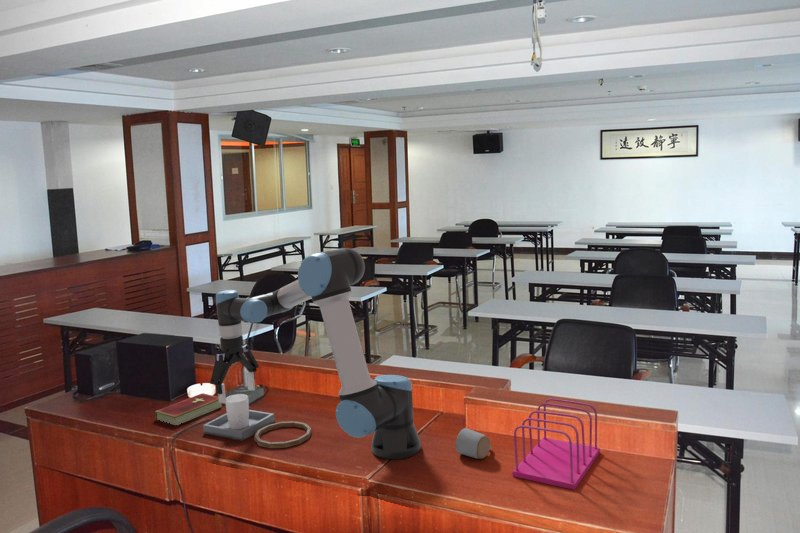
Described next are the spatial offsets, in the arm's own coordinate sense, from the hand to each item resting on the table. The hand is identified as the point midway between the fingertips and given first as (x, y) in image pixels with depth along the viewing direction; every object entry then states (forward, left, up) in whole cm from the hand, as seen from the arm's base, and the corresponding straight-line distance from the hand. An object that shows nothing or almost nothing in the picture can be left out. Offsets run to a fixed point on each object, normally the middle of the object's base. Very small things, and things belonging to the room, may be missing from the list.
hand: (237, 396), depth 226 cm
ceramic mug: (-27, -79, -12) cm, 84 cm away
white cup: (0, 0, -11) cm, 11 cm away
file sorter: (-36, -102, -12) cm, 108 cm away
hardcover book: (+16, +23, -12) cm, 31 cm away
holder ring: (-9, -17, -11) cm, 22 cm away
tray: (0, 0, -11) cm, 11 cm away
